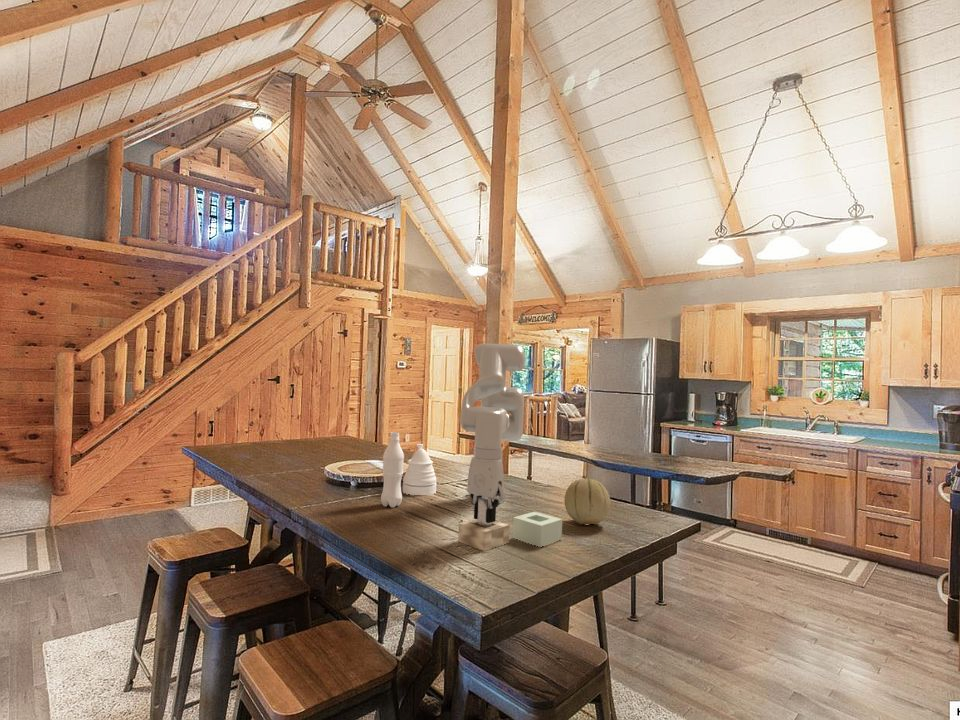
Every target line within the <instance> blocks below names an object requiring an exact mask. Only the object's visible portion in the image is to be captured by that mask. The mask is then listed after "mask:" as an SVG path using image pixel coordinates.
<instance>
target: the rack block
mask: <svg viewBox="0 0 960 720" xmlns="http://www.w3.org/2000/svg"><path fill="white" fill-rule="evenodd" d="M512 521H513V522H512V539H513V538H515V539H514V540H516V539H518V540H517V541H519V540H521V541H520V542H522V541H524V542H523V543H525V542H526V543H525V544H528V543H529V544H528V545H531V544H532V546H534V545H536V546H535V547H537V546H539V547H538V548H540V547H542V546H544V547H546V546H545V545H547V544H549V543H552V542H555V541H557V540H559V539H562V537H563V518H559V517H555V516H553V515H549V514H544V513H542V512H537V511H533V512H528V513H525V514H521V515H517V516H514V517H512ZM562 540H563V539H562ZM555 543H556V542H555ZM547 546H548V545H547ZM542 548H543V547H542Z"/></svg>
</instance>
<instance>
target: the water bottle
mask: <svg viewBox="0 0 960 720" xmlns="http://www.w3.org/2000/svg"><path fill="white" fill-rule="evenodd" d="M389 436H390V437H389V443H388V445H387V447H386V448H385V450H384V452H383V456H382V472H381V473H382V477H383V488H382V493H381V495H380V500H381V504H382V506H383V507H388V506H389V507H390V508H396V507H399V506H401V503H402V500H403V494H402V489H401V488H402V487H401V485H402V482H401V481H402V479H403V478H402V477H403V475H404V463H405V462H404V461H405V453H404V451H403V449H402V447H401V445H400V432H396V431H391V432H390V435H389Z"/></svg>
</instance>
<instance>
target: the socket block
mask: <svg viewBox="0 0 960 720" xmlns="http://www.w3.org/2000/svg"><path fill="white" fill-rule="evenodd" d="M510 529H511V528H510V524H507V523H503V522H501V521H498V520H495V522H492V525H491V526H490V527H487V528H483V527H480V526H477V519H474V518H473V519H470V520H467V521H466V520H465V521H462V522H459V523H458V534H457V536H458V537H457V542H459V543H462V544H464V545H467V546H469V547H473V548H475V549H477V548H478V550H481V551H483V552H486V551H489V550H493V549H496V548H499V547H502V546H504V544H505V545H507V544H506V543H508V544H510ZM501 545H502V546H501ZM498 546H499V547H498ZM495 547H496V548H495ZM492 548H493V549H492Z"/></svg>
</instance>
